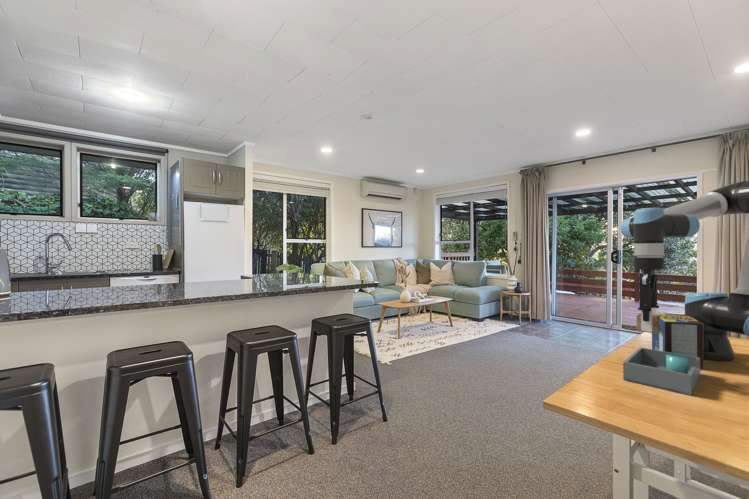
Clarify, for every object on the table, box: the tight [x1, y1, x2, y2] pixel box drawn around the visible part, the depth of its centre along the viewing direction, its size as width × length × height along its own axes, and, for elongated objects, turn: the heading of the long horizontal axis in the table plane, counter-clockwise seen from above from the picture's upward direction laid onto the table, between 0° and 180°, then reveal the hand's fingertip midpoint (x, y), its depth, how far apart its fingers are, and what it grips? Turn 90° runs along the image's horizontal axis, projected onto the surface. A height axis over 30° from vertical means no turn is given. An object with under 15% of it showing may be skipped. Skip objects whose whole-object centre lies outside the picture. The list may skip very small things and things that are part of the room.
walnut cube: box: [636, 312, 660, 334], centre depth 112 cm, size 5×5×5 cm
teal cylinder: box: [666, 353, 688, 374], centre depth 107 cm, size 5×5×7 cm
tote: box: [622, 347, 701, 397], centre depth 110 cm, size 22×16×6 cm
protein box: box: [651, 312, 704, 370], centre depth 125 cm, size 10×15×16 cm
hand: (648, 329), depth 112 cm, fingers closed on walnut cube, 5 cm apart
